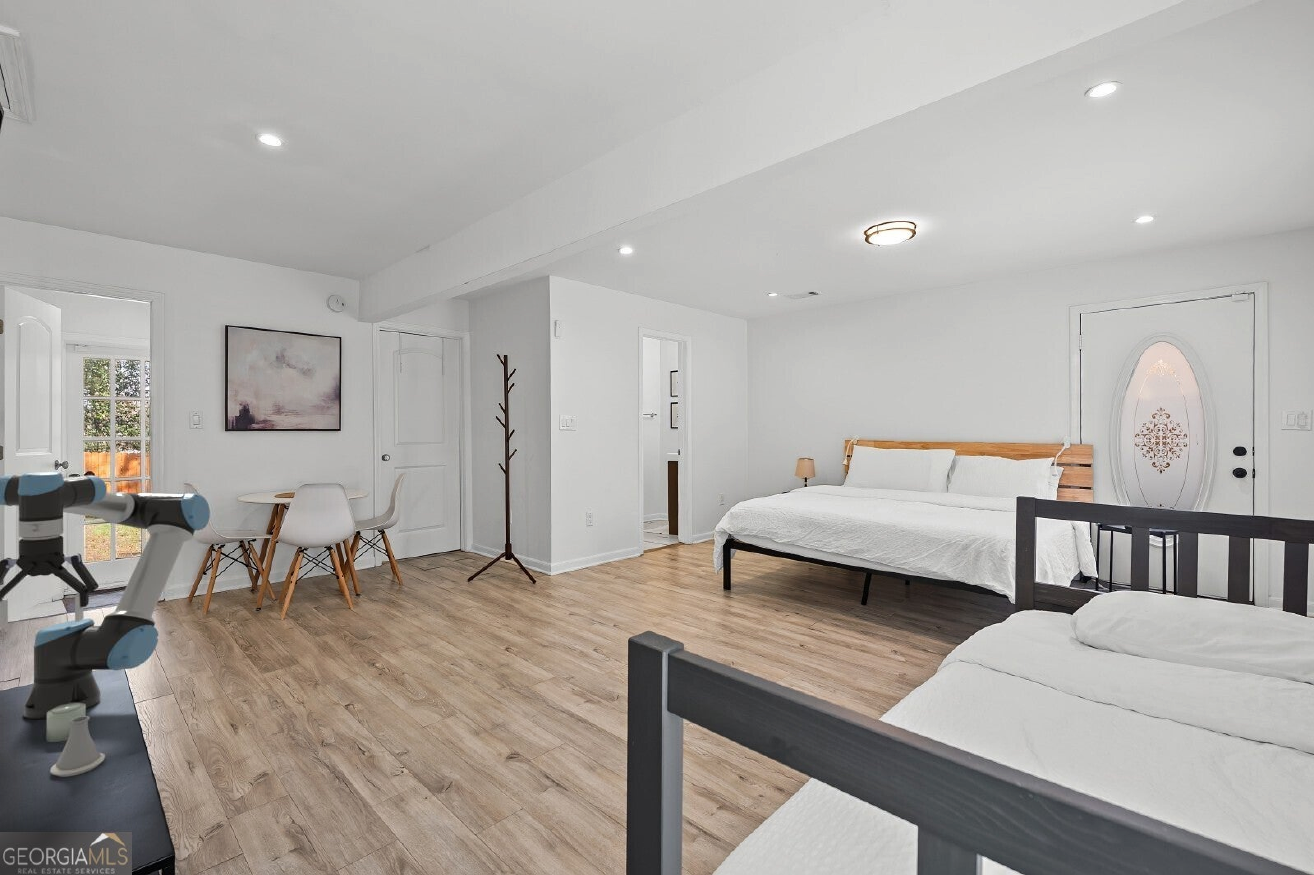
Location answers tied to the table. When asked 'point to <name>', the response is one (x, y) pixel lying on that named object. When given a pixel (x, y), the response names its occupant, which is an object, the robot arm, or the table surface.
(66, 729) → the white cylindrical tub
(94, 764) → the dish
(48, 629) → the robot arm
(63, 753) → the flask
